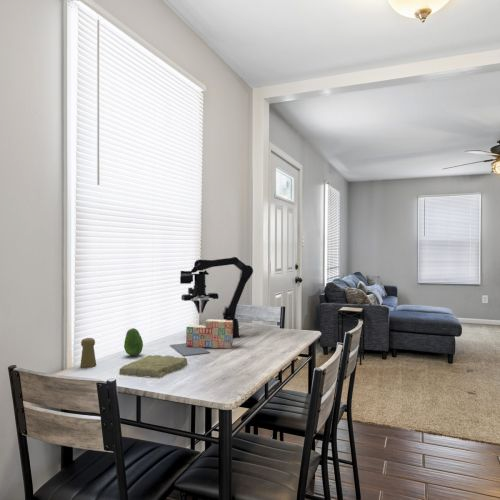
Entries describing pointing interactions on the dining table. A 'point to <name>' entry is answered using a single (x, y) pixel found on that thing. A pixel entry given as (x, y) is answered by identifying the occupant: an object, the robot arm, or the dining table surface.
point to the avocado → (133, 342)
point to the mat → (188, 349)
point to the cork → (88, 353)
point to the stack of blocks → (210, 334)
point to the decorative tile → (153, 366)
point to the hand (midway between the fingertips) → (200, 313)
